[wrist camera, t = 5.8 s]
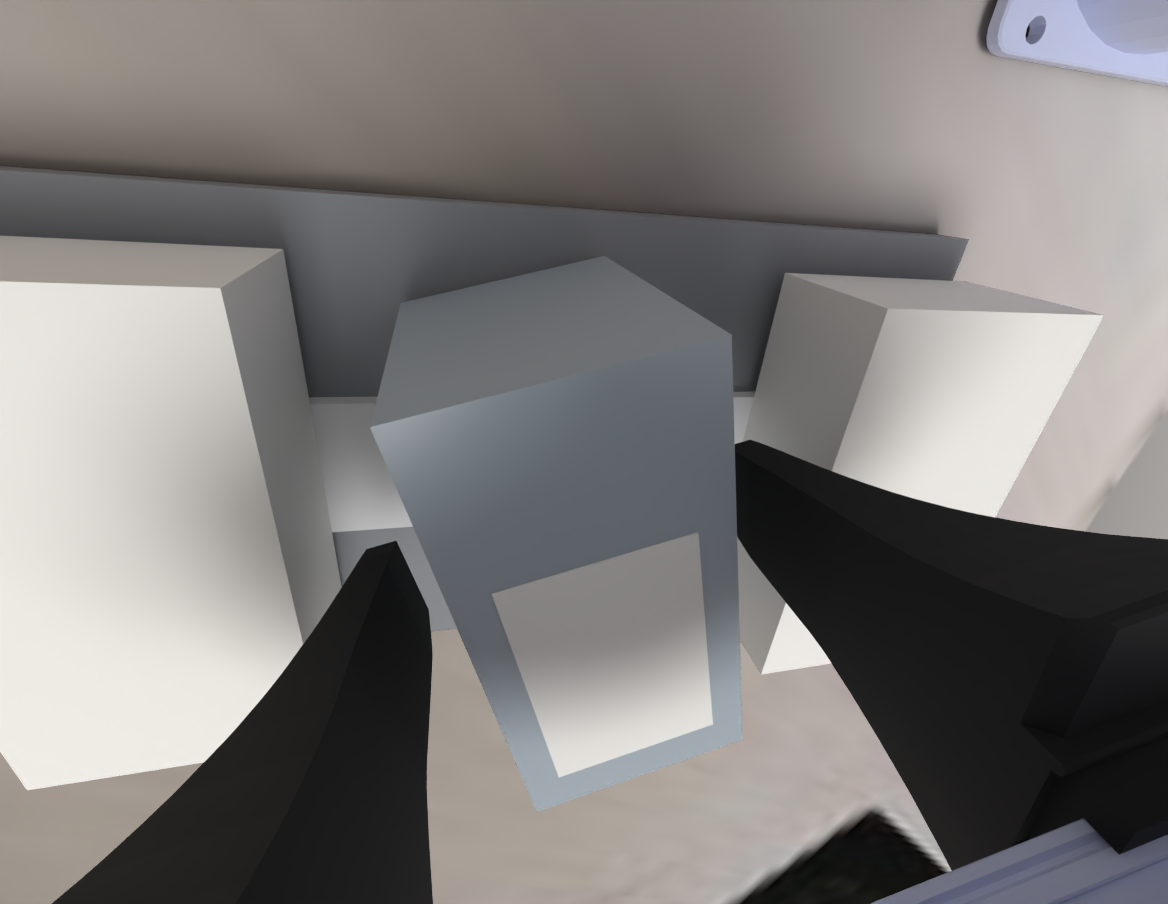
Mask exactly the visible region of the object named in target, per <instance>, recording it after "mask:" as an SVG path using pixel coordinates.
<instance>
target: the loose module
mask: <svg viewBox="0 0 1168 904" xmlns="http://www.w3.org/2000/svg"><path fill="white" fill-rule="evenodd" d="M370 429H371V431H372V433H373V436H374V438H375V440H376V442H377V445H378V447H379V449H380V452H381V454H382V456H383V459H384V461H385V463H386V465H387V468H388V470H389V472H390V475H391V477H392V479H393V482H394V484H395V486H396V489H397V491H398V493H399V495H400V498H401V500H402V502H403V505H404V507H405V509H406V512H407V514H408V516H409V518H410V521H411V523H412V525H413V528H414V530H415V532H416V535H417V537H418V539H419V542H420V544H421V546H422V548H423V551H424V553H425V555H426V558H427V560H428V562H429V565H430V567H431V569H432V571H433V574H434V576H435V578H436V581H437V583H438V585H439V588H440V590H441V592H442V594H443V597H444V599H445V601H446V604H447V606H448V608H449V611H450V613H451V615H452V618H453V620H454V622H455V624H456V627H457V629H458V631H459V634H460V636H461V638H462V641H463V643H464V645H465V647H466V650H467V652H468V654H469V657H470V659H471V661H472V664H473V666H474V668H475V671H476V673H477V675H478V677H479V680H480V682H481V684H482V687H483V689H484V691H485V694H486V696H487V698H488V700H489V703H490V705H491V707H492V710H493V712H494V714H495V717H496V719H497V721H498V723H499V726H500V728H501V730H502V733H503V735H504V737H505V740H506V742H507V744H508V747H509V749H510V751H511V753H512V756H513V758H514V760H515V763H516V765H517V767H518V770H519V772H520V774H521V776H522V779H523V781H524V783H525V786H526V788H527V790H528V793H529V795H530V797H531V800H532V802H533V804H534V806H535V809H536V811H537V812H538V811H541V810H544V809H546V808H549V807H552V806H555V805H558V804H561V803H563V802H566V801H569V800H572V799H575V798H578V797H581V796H583V795H586V794H589V793H592V792H595V791H598V790H601V789H603V788H606V787H609V786H612V785H615V784H618V783H621V782H623V781H626V780H629V779H632V778H635V777H638V776H641V775H643V774H646V773H649V772H652V771H655V770H658V769H660V768H663V767H666V766H669V765H672V764H675V763H678V762H680V761H683V760H686V759H689V758H692V757H695V756H698V755H700V754H703V753H706V752H709V751H712V750H715V749H718V748H720V747H723V746H726V745H729V744H732V743H735V742H737V741H740V740H743V736H742V699H741V662H740V625H739V588H738V550H737V513H736V476H735V439H734V402H733V365H732V335H731V334H730V333H728V332H727V331H725V330H723V329H722V328H720V327H718V326H717V325H715V324H714V323H712V322H710V321H709V320H707V319H706V318H704V317H702V316H701V315H699V314H698V313H696V312H694V311H693V310H691V309H689V308H688V307H686V306H685V305H683V304H681V303H680V302H678V301H677V300H675V299H673V298H672V297H670V296H669V295H667V294H665V293H664V292H662V291H660V290H659V289H657V288H656V287H654V286H652V285H651V284H649V283H648V282H646V281H644V280H643V279H641V278H640V277H638V276H636V275H635V274H633V273H631V272H630V271H628V270H627V269H625V268H623V267H622V266H620V265H619V264H617V263H615V262H614V261H612V260H611V259H609V258H607V257H606V256H602V257H598V258H593V259H589V260H585V261H580V262H576V263H572V264H567V265H563V266H559V267H554V268H550V269H546V270H541V271H537V272H533V273H528V274H524V275H520V276H515V277H511V278H507V279H502V280H498V281H494V282H489V283H485V284H481V285H476V286H472V287H468V288H463V289H459V290H455V291H450V292H446V293H442V294H437V295H433V296H429V297H424V298H420V299H416V300H411V301H407V302H403V303H401V304H400V308H399V312H398V316H397V320H396V324H395V328H394V332H393V336H392V340H391V344H390V348H389V352H388V356H387V360H386V365H385V369H384V373H383V377H382V381H381V385H380V389H379V393H378V397H377V401H376V405H375V409H374V413H373V417H372V421H371V425H370Z"/></svg>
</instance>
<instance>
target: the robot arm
mask: <svg viewBox="0 0 1168 904" xmlns="http://www.w3.org/2000/svg"><path fill="white" fill-rule="evenodd" d="M1028 25H1030V31H1029V35H1028V37H1027V39H1026V37H1025V35H1026V30H1027V27H1028ZM986 38H987V47H988V49H989V51H990V53H992V54H993V55H995V56H999V57H1005V58H1011V59H1016V60H1022V61H1027V62H1033V63H1038V64H1044V65H1050V66H1055V67H1061V68H1066V69H1072V70H1078V71H1083V72H1089V73H1094V74H1100V75H1105V76H1111V77H1117V78H1122V79H1128V80H1133V81H1139V82H1145V83H1150V84H1156V85H1161V86H1167V87H1168V0H998V1H997V4H996V7H995V10H994V13H993V16H992V19H991V21H990V24H989V27H988V32H987V37H986ZM735 476H736V513H737V537H738V539H739V540H740V542H741V544H742V545H743V547H744V548H745V550H746V552H747V553H748V555H749V556H750V558H751V559H752V560H753V562H754V563H755V564H756V566H757V567H758V568H759V569H760V571H761V572H762V573H763V574H764V576H765V577H766V578H767V580H768V581H769V582H770V583H771V585H772V586H773V587H774V588H775V590H776V591H777V592H778V593H779V595H780V596H781V597H782V598H783V600H784V601H785V602H786V603H787V605H788V606H789V607H790V608H791V610H792V611H793V612H794V613H795V615H796V616H797V617H798V618H799V620H800V621H801V622H802V623H803V625H804V626H805V627H806V628H807V630H808V631H809V632H810V633H811V635H812V636H813V637H814V639H815V640H816V641H817V643H818V644H819V646H820V647H821V648H822V650H823V651H824V652H825V654H826V655H827V657H828V659H829V660H830V662H831V663H832V665H833V666H834V668H835V669H836V671H837V673H838V674H839V676H840V677H841V679H842V680H843V682H844V683H845V685H846V686H847V688H848V690H849V691H850V693H851V694H852V696H853V698H854V699H855V701H856V702H857V704H858V706H859V707H860V709H861V711H862V712H863V714H864V715H865V717H866V719H867V720H868V722H869V724H870V725H871V727H872V729H873V730H874V732H875V733H876V735H877V737H878V738H879V740H880V742H881V743H882V745H883V747H884V749H885V750H886V752H887V754H888V756H889V757H890V759H891V761H892V762H893V764H894V766H895V768H896V769H897V771H898V773H899V775H900V776H901V778H902V780H903V781H904V783H905V785H906V787H907V788H908V790H909V792H910V794H911V795H912V797H913V799H914V801H915V803H916V805H917V806H918V808H919V810H920V812H921V814H922V816H923V818H924V819H925V821H926V823H927V825H928V827H929V829H930V830H931V832H932V834H933V836H934V838H935V840H936V841H937V843H938V845H939V847H940V849H941V851H942V852H943V854H944V856H945V858H946V860H947V862H948V864H949V866H950V868H951V870H952V871H951V872H948V873H946V874H943V875H941V876H938V877H936V878H933V879H931V880H928V881H926V882H923V883H921V884H918V885H916V886H913V887H911V888H908V889H906V890H903V891H901V892H898V893H896V894H893V895H891V896H888V897H886V898H883V899H881V900H878V901H876V902H873V903H871V904H1168V540H1166V539H1155V538H1143V537H1130V536H1119V535H1108V534H1099V533H1091V532H1084V531H1076V530H1069V529H1061V528H1054V527H1047V526H1040V525H1034V524H1028V523H1022V522H1016V521H1011V520H1005V519H1000V518H995V517H990V516H985V515H980V514H975V513H970V512H966V511H961V510H957V509H952V508H948V507H944V506H941V505H937V504H933V503H929V502H925V501H921V500H918V499H914V498H910V497H907V496H903V495H900V494H897V493H893V492H890V491H887V490H884V489H881V488H878V487H875V486H872V485H869V484H866V483H863V482H860V481H857V480H854V479H852V478H849V477H846V476H843V475H841V474H838V473H835V472H833V471H830V470H828V469H825V468H822V467H820V466H817V465H815V464H812V463H810V462H807V461H805V460H802V459H800V458H797V457H795V456H792V455H790V454H787V453H785V452H783V451H780V450H777V449H775V448H772V447H770V446H767V445H765V444H762V443H759V442H756V441H753V440H747V441H744V442H740V443H737V444H735ZM431 676H432V641H431V628H430V617H429V609H428V607H427V605H426V603H425V601H424V598H423V596H422V594H421V592H420V590H419V588H418V586H417V584H416V581H415V579H414V577H413V575H412V573H411V571H410V569H409V567H408V564H407V562H406V560H405V558H404V556H403V554H402V552H401V549H400V547H399V545H398V543H397V541H393V542H389V543H386V544H382V545H379V546H375V547H372V548H368V549H366V550H365V552H364V553H363V555H362V556H361V558H360V559H359V561H358V563H357V564H356V566H355V567H354V569H353V570H352V572H351V574H350V575H349V577H348V578H347V580H346V581H345V583H344V585H343V586H342V588H341V589H340V591H339V592H338V594H337V595H336V597H335V599H334V600H333V602H332V603H331V605H330V606H329V608H328V609H327V611H326V612H325V614H324V615H323V617H322V618H321V620H320V621H319V623H318V624H317V626H316V627H315V629H314V630H313V631H312V633H311V634H310V636H309V637H308V638H307V640H306V641H305V642H304V644H303V645H302V647H301V648H300V649H299V651H298V652H297V653H296V655H295V656H294V657H293V659H292V660H291V662H290V663H289V664H288V666H287V667H286V668H285V670H284V671H283V673H282V674H281V675H280V676H279V678H278V679H277V680H276V682H275V683H274V684H273V685H272V687H271V688H270V689H269V690H268V692H267V693H266V694H265V695H264V696H263V698H262V699H261V700H260V701H259V702H258V704H257V705H256V706H255V707H254V708H253V709H252V711H251V712H250V713H249V714H248V715H247V716H246V718H245V719H244V720H243V721H242V722H241V723H240V725H239V726H238V727H237V728H236V729H235V730H234V731H233V732H232V734H231V735H230V736H229V737H228V738H227V739H226V740H225V741H224V742H223V743H222V744H221V745H220V746H219V747H218V748H217V749H216V750H215V751H214V753H213V754H212V755H211V756H210V757H209V758H208V759H207V760H206V761H205V762H204V763H203V764H202V765H201V766H200V767H199V768H198V769H197V770H196V771H195V772H194V773H193V774H192V775H191V776H190V778H189V779H188V780H187V781H186V782H185V783H184V784H183V785H182V786H181V787H180V788H179V789H178V790H177V791H176V792H175V793H174V794H173V795H172V796H171V797H170V798H169V799H168V800H167V801H166V802H165V803H164V804H163V805H162V806H160V807H159V808H158V809H157V810H156V811H155V812H154V813H153V814H152V815H151V816H150V817H149V818H148V819H147V820H146V821H145V822H144V823H143V824H142V825H141V826H139V827H138V828H137V829H136V830H135V831H134V832H133V833H132V834H131V835H130V836H129V837H127V838H126V839H125V840H124V841H123V842H122V843H121V844H120V845H119V846H118V847H117V848H115V849H114V850H113V851H112V852H111V853H110V854H109V855H108V856H107V857H106V858H104V859H103V860H102V861H101V862H100V863H99V864H98V865H97V866H95V867H94V868H93V869H92V870H91V871H90V872H89V873H87V874H86V875H85V876H84V877H83V878H82V879H81V880H79V881H78V882H77V883H76V884H75V885H73V886H72V887H71V888H70V889H69V890H68V891H66V892H65V893H64V894H63V895H62V896H60V897H59V898H58V899H57V900H56V901H54V902H53V903H52V904H433V899H432V883H431V867H430V851H429V832H428V810H427V787H426V786H427V750H428V732H429V714H430V696H431Z"/></svg>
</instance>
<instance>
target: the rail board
mask: <svg viewBox="0 0 1168 904" xmlns="http://www.w3.org/2000/svg"><path fill="white" fill-rule="evenodd" d="M968 240H969V239H963V238H957V237H951V236H944V235H938V234H924V233H910V232H897V231H883V230H869V229H856V228H842V227H828V226H815V225H801V224H787V223H774V222H760V221H746V220H733V219H719V218H705V217H692V216H678V215H664V214H651V213H637V212H623V211H610V210H596V209H582V208H568V207H555V206H541V205H527V204H514V203H500V202H486V201H473V200H459V199H445V198H432V197H418V196H404V195H391V194H377V193H363V192H350V191H336V190H322V189H309V188H295V187H281V186H268V185H254V184H240V183H227V182H213V181H199V180H186V179H172V178H158V177H145V176H131V175H117V174H104V173H90V172H76V171H62V170H49V169H35V168H21V167H8V166H0V752H1V753H2V755H3V756H4V758H5V759H6V761H7V762H8V763H9V765H10V766H11V768H12V769H13V771H14V772H15V773H16V775H17V776H18V778H19V779H20V781H21V782H22V783H23V785H24V786H25V788H26V789H27V790H32V789H38V788H44V787H51V786H57V785H63V784H70V783H76V782H82V781H89V780H95V779H101V778H108V777H114V776H120V775H127V774H133V773H139V772H146V771H152V770H159V769H165V768H171V767H178V766H184V765H190V764H197V763H203V762H205V761H206V760H207V759H208V758H209V757H210V756H211V755H212V754H213V753H214V751H215V750H216V749H217V748H218V747H219V746H220V745H221V744H222V743H223V742H224V741H225V740H226V739H227V738H228V737H229V736H230V735H231V734H232V732H233V731H234V730H235V729H236V728H237V727H238V726H239V725H240V723H241V722H242V721H243V720H244V719H245V718H246V716H247V715H248V714H249V713H250V712H251V711H252V709H253V708H254V707H255V706H256V705H257V704H258V702H259V701H260V700H261V699H262V698H263V696H264V695H265V694H266V693H267V692H268V690H269V689H270V688H271V687H272V685H273V684H274V683H275V682H276V680H277V679H278V678H279V676H280V675H281V674H282V673H283V671H284V670H285V668H286V667H287V666H288V664H289V663H290V662H291V660H292V659H293V657H294V656H295V655H296V653H297V652H298V651H299V649H300V648H301V647H302V645H303V644H304V642H305V641H306V640H307V638H308V637H309V636H310V634H311V633H312V631H313V630H314V629H315V627H316V626H317V624H318V623H319V621H320V620H321V618H322V617H323V615H324V614H325V612H326V611H327V609H328V608H329V606H330V605H331V603H332V602H333V600H334V599H335V597H336V595H337V594H338V592H339V591H340V589H341V588H342V586H343V585H344V583H345V581H346V580H347V578H348V577H349V575H350V574H351V572H352V570H353V569H354V567H355V566H356V564H357V563H358V561H359V559H360V558H361V556H362V555H363V553H364V552H365V550H366V549H368V548H372V547H375V546H379V545H382V544H386V543H389V542H393V541H397V543H398V545H399V547H400V549H401V552H402V554H403V556H404V558H405V560H406V562H407V564H408V567H409V569H410V571H411V573H412V575H413V577H414V579H415V581H416V584H417V586H418V588H419V590H420V592H421V594H422V596H423V598H424V601H425V603H426V605H427V607H428V609H429V617H430V628H431V631H440V630H449V629H457V627H456V624H455V622H454V620H453V618H452V615H451V613H450V611H449V608H448V606H447V604H446V601H445V599H444V597H443V594H442V592H441V590H440V588H439V585H438V583H437V581H436V578H435V576H434V574H433V571H432V569H431V567H430V565H429V562H428V560H427V558H426V555H425V553H424V551H423V548H422V546H421V544H420V542H419V539H418V537H417V535H416V532H415V530H414V528H413V525H412V523H411V521H410V518H409V516H408V514H407V512H406V509H405V507H404V505H403V502H402V500H401V498H400V495H399V493H398V491H397V489H396V486H395V484H394V482H393V479H392V477H391V475H390V472H389V470H388V468H387V465H386V463H385V461H384V459H383V456H382V454H381V452H380V449H379V447H378V445H377V442H376V440H375V438H374V436H373V433H372V431H371V429H370V425H371V421H372V417H373V413H374V409H375V405H376V401H377V397H378V393H379V389H380V385H381V381H382V377H383V373H384V369H385V365H386V360H387V356H388V352H389V348H390V344H391V340H392V336H393V332H394V328H395V324H396V320H397V316H398V312H399V308H400V304H401V303H403V302H407V301H411V300H416V299H420V298H424V297H429V296H433V295H437V294H442V293H446V292H450V291H455V290H459V289H463V288H468V287H472V286H476V285H481V284H485V283H489V282H494V281H498V280H502V279H507V278H511V277H515V276H520V275H524V274H528V273H533V272H537V271H541V270H546V269H550V268H554V267H559V266H563V265H567V264H572V263H576V262H580V261H585V260H589V259H593V258H598V257H602V256H606V257H607V258H609V259H611V260H612V261H614V262H615V263H617V264H619V265H620V266H622V267H623V268H625V269H627V270H628V271H630V272H631V273H633V274H635V275H636V276H638V277H640V278H641V279H643V280H644V281H646V282H648V283H649V284H651V285H652V286H654V287H656V288H657V289H659V290H660V291H662V292H664V293H665V294H667V295H669V296H670V297H672V298H673V299H675V300H677V301H678V302H680V303H681V304H683V305H685V306H686V307H688V308H689V309H691V310H693V311H694V312H696V313H698V314H699V315H701V316H702V317H704V318H706V319H707V320H709V321H710V322H712V323H714V324H715V325H717V326H718V327H720V328H722V329H723V330H725V331H727V332H728V333H730V334H731V335H732V365H733V402H734V439H735V444H737V443H740V442H744V441H747V440H753V441H756V442H759V443H762V444H765V445H767V446H770V447H772V448H775V449H777V450H780V451H783V452H785V453H787V454H790V455H792V456H795V457H797V458H800V459H802V460H805V461H807V462H810V463H812V464H815V465H817V466H820V467H822V468H825V469H828V470H830V471H833V472H835V473H838V474H841V475H843V476H846V477H849V478H852V479H854V480H857V481H860V482H863V483H866V484H869V485H872V486H875V487H878V488H881V489H884V490H887V491H890V492H893V493H897V494H900V495H903V496H907V497H910V498H914V499H918V500H921V501H925V502H929V503H933V504H937V505H941V506H944V507H948V508H952V509H957V510H961V511H966V512H970V513H975V514H980V515H985V516H990V517H996V515H997V513H998V511H999V509H1000V507H1001V505H1002V504H1003V502H1004V500H1005V498H1006V496H1007V494H1008V493H1009V491H1010V489H1011V487H1012V485H1013V483H1014V481H1015V480H1016V478H1017V476H1018V474H1019V472H1020V470H1021V468H1022V467H1023V465H1024V463H1025V461H1026V459H1027V457H1028V455H1029V454H1030V452H1031V450H1032V448H1033V446H1034V444H1035V442H1036V441H1037V439H1038V437H1039V435H1040V433H1041V431H1042V429H1043V428H1044V426H1045V424H1046V422H1047V420H1048V418H1049V417H1050V415H1051V413H1052V411H1053V409H1054V407H1055V405H1056V404H1057V402H1058V400H1059V398H1060V396H1061V394H1062V392H1063V391H1064V389H1065V387H1066V385H1067V383H1068V381H1069V379H1070V378H1071V376H1072V374H1073V372H1074V370H1075V368H1076V366H1077V365H1078V363H1079V361H1080V359H1081V357H1082V355H1083V353H1084V352H1085V350H1086V348H1087V346H1088V344H1089V342H1090V340H1091V339H1092V337H1093V335H1094V333H1095V331H1096V329H1097V328H1098V326H1099V324H1100V322H1101V320H1102V318H1103V316H1104V315H1101V314H1097V313H1093V312H1089V311H1085V310H1080V309H1076V308H1072V307H1068V306H1064V305H1060V304H1056V303H1052V302H1048V301H1044V300H1040V299H1035V298H1031V297H1027V296H1023V295H1019V294H1015V293H1011V292H1007V291H1003V290H999V289H995V288H990V287H986V286H982V285H978V284H974V283H970V282H966V281H953V278H954V276H955V273H956V271H957V268H958V266H959V263H960V261H961V258H962V256H963V253H964V250H965V248H966V245H967V243H968ZM737 550H738V588H739V625H740V641H741V643H742V644H743V646H744V648H745V649H746V651H747V653H748V654H749V656H750V657H751V659H752V661H753V662H754V664H755V665H756V667H757V669H758V670H759V672H760V674H767V673H773V672H780V671H786V670H792V669H799V668H805V667H811V666H818V665H824V664H830V663H831V662H830V660H829V659H828V657H827V655H826V654H825V652H824V651H823V650H822V648H821V647H820V646H819V644H818V643H817V641H816V640H815V639H814V637H813V636H812V635H811V633H810V632H809V631H808V630H807V628H806V627H805V626H804V625H803V623H802V622H801V621H800V620H799V618H798V617H797V616H796V615H795V613H794V612H793V611H792V610H791V608H790V607H789V606H788V605H787V603H786V602H785V601H784V600H783V598H782V597H781V596H780V595H779V593H778V592H777V591H776V590H775V588H774V587H773V586H772V585H771V583H770V582H769V581H768V580H767V578H766V577H765V576H764V574H763V573H762V572H761V571H760V569H759V568H758V567H757V566H756V564H755V563H754V562H753V560H752V559H751V558H750V556H749V555H748V553H747V552H746V550H745V548H744V547H743V545H742V544H741V542H740V540H739V539H738V537H737Z"/></svg>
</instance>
